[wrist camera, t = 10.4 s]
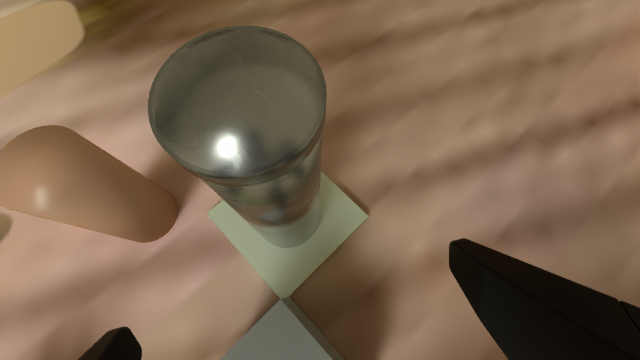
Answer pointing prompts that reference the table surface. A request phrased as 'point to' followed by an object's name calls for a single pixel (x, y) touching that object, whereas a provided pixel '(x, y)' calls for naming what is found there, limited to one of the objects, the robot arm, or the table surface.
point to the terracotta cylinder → (81, 186)
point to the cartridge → (247, 125)
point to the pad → (301, 261)
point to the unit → (283, 337)
